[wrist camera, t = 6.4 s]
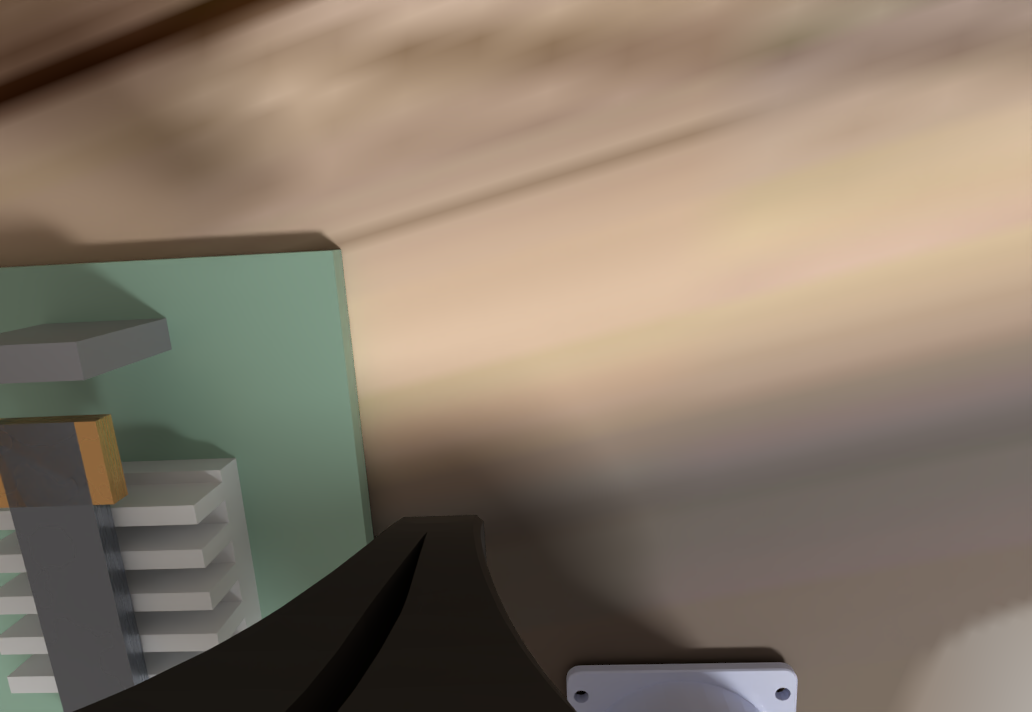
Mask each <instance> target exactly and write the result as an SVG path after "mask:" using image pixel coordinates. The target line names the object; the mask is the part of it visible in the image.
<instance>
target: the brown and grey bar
mask: <svg viewBox="0 0 1032 712" xmlns="http://www.w3.org/2000/svg"><path fill="white" fill-rule="evenodd" d="M127 495H128V491H127V487H126V482H125V477H124V473H123V468H122V463H121V459H120V454H119V449H118V445H117V440H116V436H115V431H114V426H113V422H112V417H111V414H98V415H73V416H47V417H22V418H0V508H10V512H11V516H12V519H13V523H14V527H15V531H16V534H17V538H18V542H19V546H20V549H21V553H22V557H23V561H24V565H25V568H26V572H27V576H28V580H29V583H30V587H31V591H32V595H33V598H34V602H35V606H36V610H37V614H38V617H39V621H40V625H41V629H42V632H43V636H44V640H45V644H46V647H47V651H48V655H49V659H50V662H51V666H52V670H53V674H54V678H55V681H56V685H57V689H58V693H59V696H60V700H61V704H62V708H63V711H64V712H73V711H75V710H78V709H81V708H83V707H85V706H88V705H90V704H92V703H95V702H97V701H100V700H102V699H104V698H107V697H109V696H112V695H114V694H116V693H119V692H121V691H123V690H126V689H128V688H130V687H132V686H135V685H137V684H139V683H141V682H143V681H145V680H147V679H149V677H148V672H147V668H146V663H145V659H144V654H143V650H142V645H141V641H140V636H139V632H138V627H137V623H136V619H135V614H134V610H133V605H132V601H131V596H130V592H129V587H128V583H127V578H126V574H125V569H124V565H123V561H122V556H121V552H120V547H119V543H118V538H117V534H116V529H115V525H114V520H113V516H112V511H111V507H110V504H115V503H117V502H118V501H119V500H121V499H122V498H124V497H125V496H127Z"/></svg>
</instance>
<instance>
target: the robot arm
mask: <svg viewBox="0 0 1032 712" xmlns="http://www.w3.org/2000/svg"><path fill="white" fill-rule="evenodd" d="M566 682H567V699H566V698H565V697H564V696H563V695H562V693H561V692H560V691H559V690H558V689H557V688H556V686H555V685H554V684H553V683H552V682H551V680H550V679H549V678H548V677H547V676H546V674H545V673H544V672H543V671H542V669H541V668H540V666H539V665H538V664H537V662H536V661H535V659H534V658H533V656H532V655H531V653H530V652H529V651H528V649H527V648H526V646H525V644H524V643H523V641H522V640H521V638H520V636H519V635H518V633H517V631H516V630H515V628H514V626H513V624H512V622H511V621H510V619H509V617H508V615H507V613H506V611H505V609H504V607H503V605H502V602H501V600H500V598H499V596H498V594H497V591H496V589H495V587H494V584H493V582H492V579H491V576H490V573H489V570H488V567H487V563H486V549H485V535H484V522H483V521H482V520H481V519H480V518H479V517H478V516H477V515H463V516H429V517H404V518H402V519H400V520H399V521H397V522H396V523H394V524H393V525H392V526H390V527H389V528H388V529H386V530H385V531H384V532H383V533H381V534H380V535H379V536H377V537H376V538H375V539H374V540H372V541H371V542H370V543H369V544H367V545H366V546H365V547H363V548H362V549H361V550H360V551H358V552H357V553H356V554H354V555H353V556H352V557H351V558H349V559H348V560H347V561H345V562H344V563H343V564H341V565H340V566H339V567H338V568H336V569H335V570H334V571H332V572H331V573H330V574H328V575H327V576H325V577H324V578H322V579H321V580H320V581H318V582H317V583H315V584H314V585H312V586H311V587H310V588H308V589H307V590H305V591H304V592H302V593H301V594H299V595H298V596H297V597H295V598H294V599H292V600H291V601H289V602H288V603H287V604H285V605H284V606H282V607H281V608H279V609H278V610H276V611H274V612H273V613H271V614H270V615H268V616H266V617H265V618H263V619H262V620H260V621H258V622H257V623H255V624H253V625H252V626H250V627H248V628H246V629H245V630H243V631H241V632H239V633H238V634H236V635H234V636H232V637H231V638H229V639H227V640H225V641H223V642H222V643H220V644H218V645H216V646H214V647H213V648H211V649H209V650H207V651H205V652H203V653H201V654H199V655H197V656H195V657H193V658H191V659H189V660H186V661H184V662H182V663H180V664H178V665H176V666H174V667H172V668H170V669H168V670H166V671H164V672H162V673H160V674H157V675H155V676H153V677H151V678H149V679H147V680H145V681H143V682H141V683H139V684H137V685H135V686H132V687H130V688H128V689H126V690H123V691H121V692H119V693H116V694H114V695H112V696H109V697H107V698H104V699H102V700H100V701H97V702H95V703H92V704H90V705H88V706H85V707H83V708H81V709H78V710H75V711H73V712H796V701H797V682H798V680H797V675H796V674H795V672H794V670H793V669H792V667H791V666H790V665H788V664H787V663H782V662H761V663H699V664H637V665H579V666H574V667H573V668H571V669H570V670H569V671H568V673H567V677H566ZM779 688H785V689H784V690H783V691H781V692H776V691H777V690H778V689H779ZM580 690H582V691H585V692H586V693H585V694H582V695H579V694H576V692H577V691H580Z"/></svg>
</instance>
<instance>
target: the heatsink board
mask: <svg viewBox="0 0 1032 712" xmlns="http://www.w3.org/2000/svg"><path fill="white" fill-rule="evenodd" d="M98 414H111V417H112V422H113V426H114V431H115V436H116V440H117V445H118V449H119V454H120V459H121V463H122V468H123V473H124V477H125V482H126V487H127V491H128V495H127V496H125V497H124V498H122V499H121V500H119V501H118V502H117V503H115V504H110V507H111V511H112V516H113V520H114V525H115V529H116V534H117V538H118V543H119V547H120V552H121V556H122V561H123V565H124V569H125V574H126V578H127V583H128V587H129V592H130V596H131V601H132V605H133V610H134V614H135V619H136V623H137V627H138V632H139V636H140V641H141V645H142V650H143V654H144V659H145V663H146V668H147V672H148V677H149V678H151V677H153V676H155V675H157V674H160V673H162V672H164V671H166V670H168V669H170V668H172V667H174V666H176V665H178V664H180V663H182V662H184V661H186V660H189V659H191V658H193V657H195V656H197V655H199V654H201V653H203V652H205V651H207V650H209V649H211V648H213V647H214V646H216V645H218V644H220V643H222V642H223V641H225V640H227V639H229V638H231V637H232V636H234V635H236V634H238V633H239V632H241V631H243V630H245V629H246V628H248V627H250V626H252V625H253V624H255V623H257V622H258V621H260V620H262V619H263V618H265V617H266V616H268V615H270V614H271V613H273V612H274V611H276V610H278V609H279V608H281V607H282V606H284V605H285V604H287V603H288V602H289V601H291V600H292V599H294V598H295V597H297V596H298V595H299V594H301V593H302V592H304V591H305V590H307V589H308V588H310V587H311V586H312V585H314V584H315V583H317V582H318V581H320V580H321V579H322V578H324V577H325V576H327V575H328V574H330V573H331V572H332V571H334V570H335V569H336V568H338V567H339V566H340V565H341V564H343V563H344V562H345V561H347V560H348V559H349V558H351V557H352V556H353V555H354V554H356V553H357V552H358V551H360V550H361V549H362V548H363V547H365V546H366V545H367V544H369V543H370V542H371V541H372V540H374V537H373V528H372V519H371V510H370V501H369V492H368V484H367V475H366V466H365V457H364V448H363V439H362V431H361V422H360V413H359V404H358V395H357V386H356V378H355V369H354V360H353V351H352V342H351V334H350V325H349V316H348V307H347V298H346V289H345V281H344V272H343V263H342V254H341V249H338V250H319V251H300V252H281V253H262V254H243V255H224V256H205V257H187V258H168V259H149V260H130V261H111V262H92V263H73V264H54V265H35V266H16V267H0V418H22V417H47V416H73V415H98ZM0 712H64V711H63V708H62V704H61V700H60V696H59V693H58V689H57V685H56V681H55V678H54V674H53V670H52V666H51V662H50V659H49V655H48V651H47V647H46V644H45V640H44V636H43V632H42V629H41V625H40V621H39V617H38V614H37V610H36V606H35V602H34V598H33V595H32V591H31V587H30V583H29V580H28V576H27V572H26V568H25V565H24V561H23V557H22V553H21V549H20V546H19V542H18V538H17V534H16V531H15V527H14V523H13V519H12V516H11V512H10V508H0Z"/></svg>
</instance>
